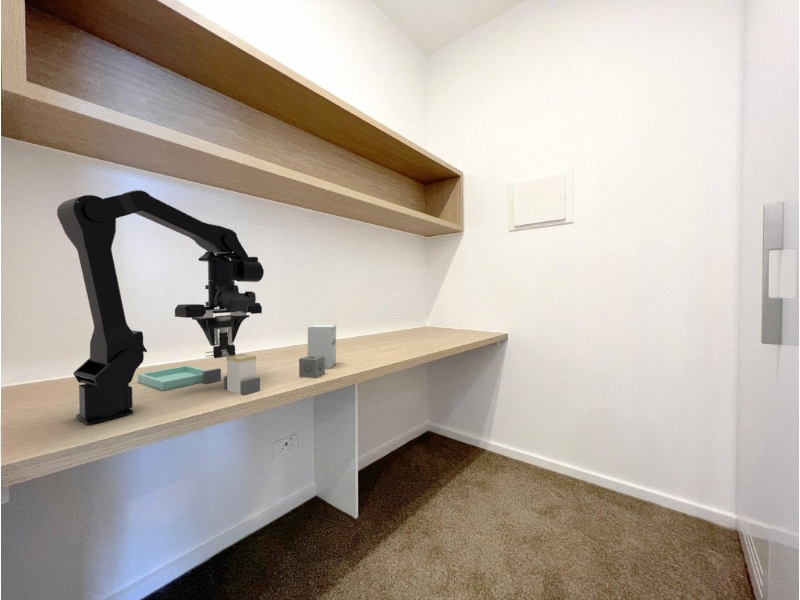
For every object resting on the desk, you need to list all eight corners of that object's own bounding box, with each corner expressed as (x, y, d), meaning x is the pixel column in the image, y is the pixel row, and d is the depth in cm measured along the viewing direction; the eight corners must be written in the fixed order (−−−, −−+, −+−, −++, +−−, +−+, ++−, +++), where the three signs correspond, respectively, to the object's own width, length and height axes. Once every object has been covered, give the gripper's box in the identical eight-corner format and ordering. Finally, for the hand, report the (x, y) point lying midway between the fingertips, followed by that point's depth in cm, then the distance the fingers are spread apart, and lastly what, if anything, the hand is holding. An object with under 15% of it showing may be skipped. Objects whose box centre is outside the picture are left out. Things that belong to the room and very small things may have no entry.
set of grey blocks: (243, 395, 73) (243, 381, 73) (202, 383, 82) (202, 371, 82) (259, 390, 76) (259, 377, 76) (218, 379, 86) (218, 368, 85)
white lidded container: (239, 394, 74) (239, 358, 74) (226, 390, 76) (226, 356, 76) (256, 389, 77) (256, 355, 77) (243, 386, 80) (243, 353, 80)
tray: (163, 391, 76) (162, 382, 76) (137, 382, 83) (137, 374, 83) (213, 379, 86) (213, 372, 85) (187, 372, 93) (187, 365, 93)
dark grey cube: (299, 377, 89) (299, 358, 89) (309, 372, 94) (309, 355, 94) (315, 378, 88) (315, 359, 87) (324, 373, 92) (324, 356, 92)
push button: (205, 360, 77) (203, 318, 76) (205, 356, 81) (203, 316, 81) (237, 357, 80) (235, 316, 80) (235, 353, 85) (233, 314, 84)
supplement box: (331, 368, 98) (331, 326, 98) (306, 368, 98) (306, 326, 98) (336, 363, 105) (336, 324, 105) (313, 363, 105) (313, 324, 105)
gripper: (199, 279, 68) (199, 353, 69) (275, 281, 84) (275, 342, 85) (173, 280, 74) (174, 348, 75) (248, 282, 90) (249, 338, 91)
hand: (222, 344), depth 81 cm, fingers closed on push button, 4 cm apart
